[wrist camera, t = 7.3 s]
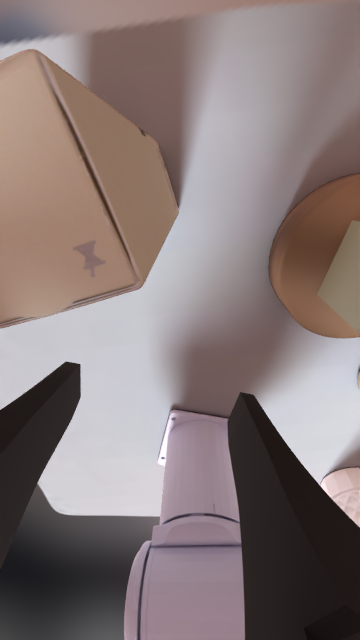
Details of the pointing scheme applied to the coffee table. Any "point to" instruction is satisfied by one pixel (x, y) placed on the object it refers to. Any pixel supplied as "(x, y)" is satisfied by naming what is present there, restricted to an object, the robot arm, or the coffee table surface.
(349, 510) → the white cup
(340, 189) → the coaster stand
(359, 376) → the travel mug
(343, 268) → the block
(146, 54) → the coffee table surface
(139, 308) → the coffee table surface
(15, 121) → the box
